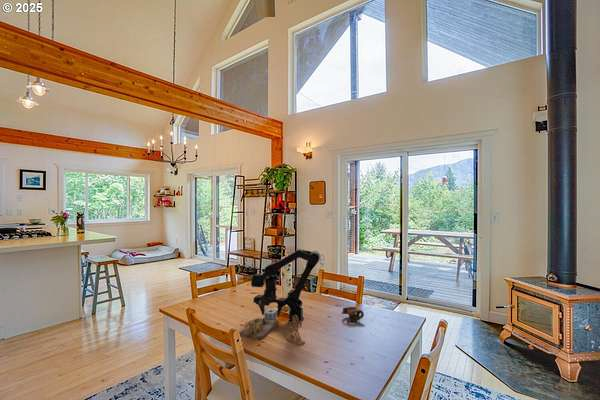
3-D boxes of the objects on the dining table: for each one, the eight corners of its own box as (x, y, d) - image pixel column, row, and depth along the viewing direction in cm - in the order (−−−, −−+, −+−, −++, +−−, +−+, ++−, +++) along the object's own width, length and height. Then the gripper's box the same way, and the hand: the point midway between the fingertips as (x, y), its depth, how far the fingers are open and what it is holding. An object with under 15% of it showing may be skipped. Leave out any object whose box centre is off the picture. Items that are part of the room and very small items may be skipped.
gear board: (278, 324, 149) (278, 311, 149) (262, 339, 132) (262, 325, 132) (258, 320, 153) (258, 308, 153) (239, 335, 136) (239, 322, 137)
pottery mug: (341, 324, 150) (339, 307, 154) (346, 326, 158) (344, 310, 162) (363, 321, 146) (360, 304, 150) (367, 323, 154) (364, 307, 158)
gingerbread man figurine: (285, 339, 133) (285, 313, 133) (291, 336, 135) (291, 311, 135) (299, 346, 126) (299, 319, 126) (305, 343, 129) (305, 316, 129)
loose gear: (278, 317, 158) (278, 310, 158) (273, 321, 152) (273, 314, 152) (267, 315, 161) (267, 308, 161) (262, 320, 154) (262, 312, 154)
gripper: (248, 289, 152) (248, 319, 152) (280, 293, 146) (280, 324, 145) (258, 284, 163) (258, 311, 162) (288, 287, 156) (288, 316, 156)
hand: (270, 316), depth 156 cm, fingers open, 9 cm apart
